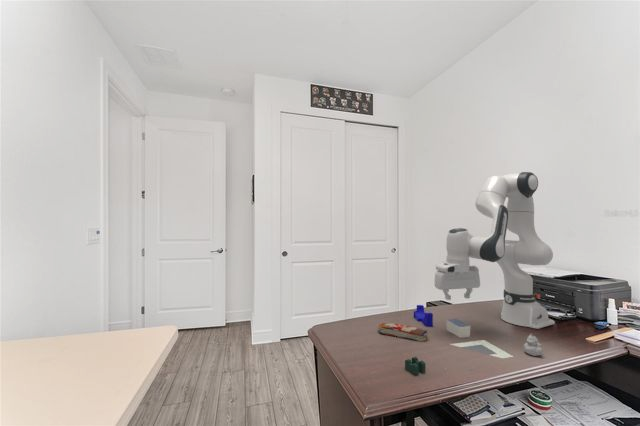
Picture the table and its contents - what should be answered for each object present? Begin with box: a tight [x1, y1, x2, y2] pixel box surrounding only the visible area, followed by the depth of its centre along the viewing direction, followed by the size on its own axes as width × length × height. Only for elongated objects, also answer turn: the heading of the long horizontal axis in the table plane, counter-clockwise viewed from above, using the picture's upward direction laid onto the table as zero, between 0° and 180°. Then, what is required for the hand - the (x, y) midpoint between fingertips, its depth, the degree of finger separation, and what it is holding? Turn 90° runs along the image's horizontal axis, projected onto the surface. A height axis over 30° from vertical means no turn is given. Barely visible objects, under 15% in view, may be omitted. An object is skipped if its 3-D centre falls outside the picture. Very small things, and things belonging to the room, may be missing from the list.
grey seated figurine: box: [523, 333, 543, 357], centre depth 99 cm, size 5×7×8 cm
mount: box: [404, 356, 426, 377], centre depth 86 cm, size 11×4×5 cm, turn 119°
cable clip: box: [413, 304, 434, 328], centre depth 129 cm, size 12×4×6 cm, turn 0°
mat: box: [449, 339, 514, 359], centre depth 100 cm, size 18×13×1 cm
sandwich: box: [378, 322, 429, 342], centre depth 113 cm, size 11×20×5 cm, turn 53°
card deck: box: [446, 318, 471, 339], centre depth 116 cm, size 5×8×5 cm, turn 13°
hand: (457, 298), depth 116 cm, fingers open, 8 cm apart
